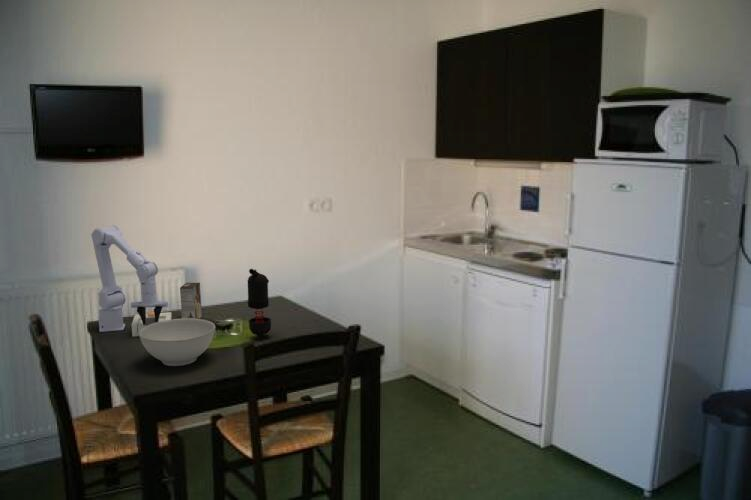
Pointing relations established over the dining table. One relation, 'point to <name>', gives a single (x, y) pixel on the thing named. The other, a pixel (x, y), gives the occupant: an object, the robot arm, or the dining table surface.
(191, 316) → the coffee box
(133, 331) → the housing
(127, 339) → the dining table surface
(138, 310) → the robot arm
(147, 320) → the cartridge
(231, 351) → the dining table surface
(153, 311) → the brown egg
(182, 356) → the decorative bowl
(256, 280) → the filter
